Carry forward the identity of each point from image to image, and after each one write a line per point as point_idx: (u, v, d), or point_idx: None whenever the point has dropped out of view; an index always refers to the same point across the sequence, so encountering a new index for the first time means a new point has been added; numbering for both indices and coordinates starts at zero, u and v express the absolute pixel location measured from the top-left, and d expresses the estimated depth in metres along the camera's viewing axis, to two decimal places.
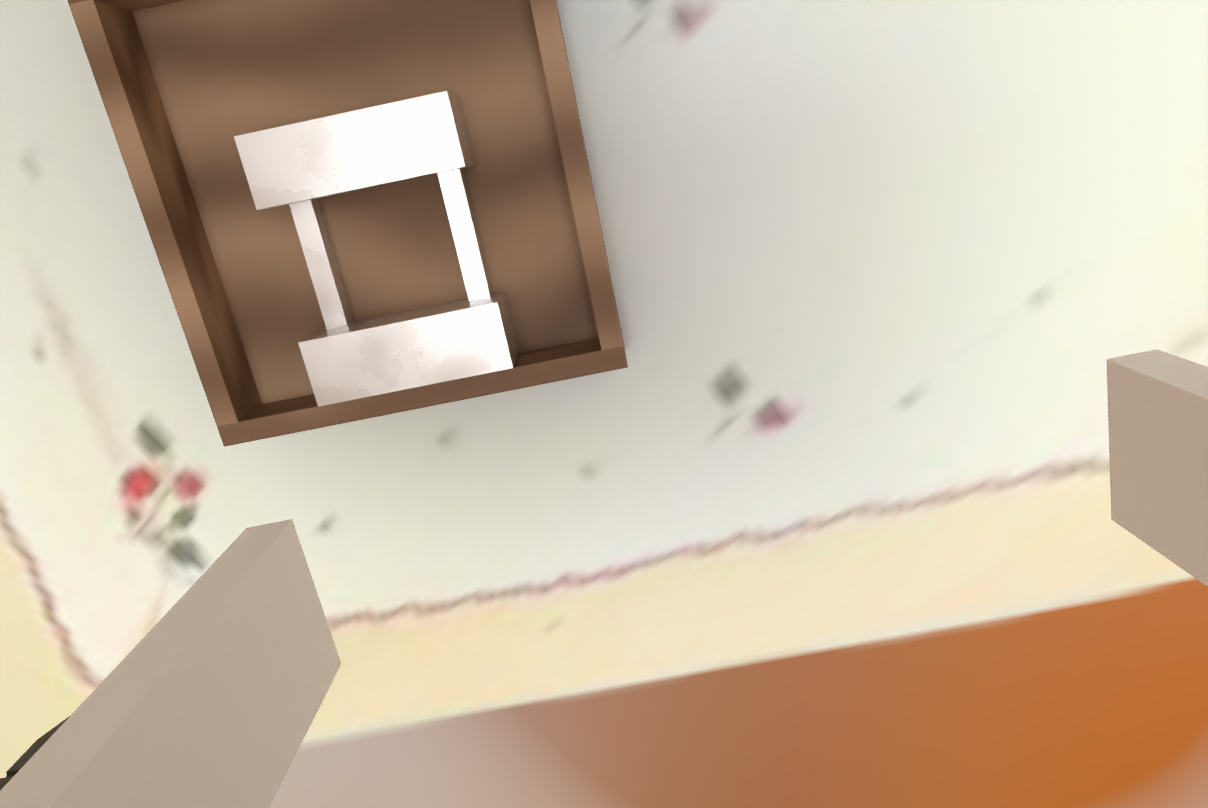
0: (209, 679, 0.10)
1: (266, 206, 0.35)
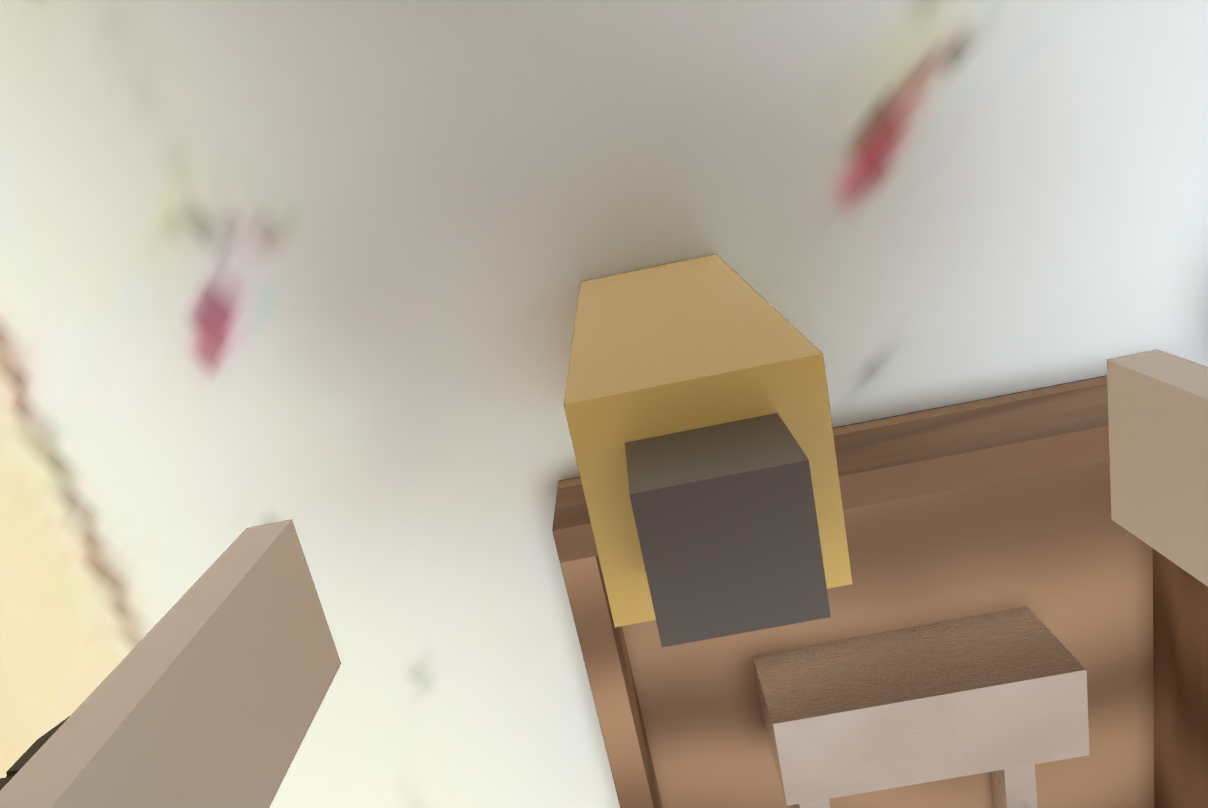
0: (209, 678, 0.10)
1: (801, 802, 0.25)
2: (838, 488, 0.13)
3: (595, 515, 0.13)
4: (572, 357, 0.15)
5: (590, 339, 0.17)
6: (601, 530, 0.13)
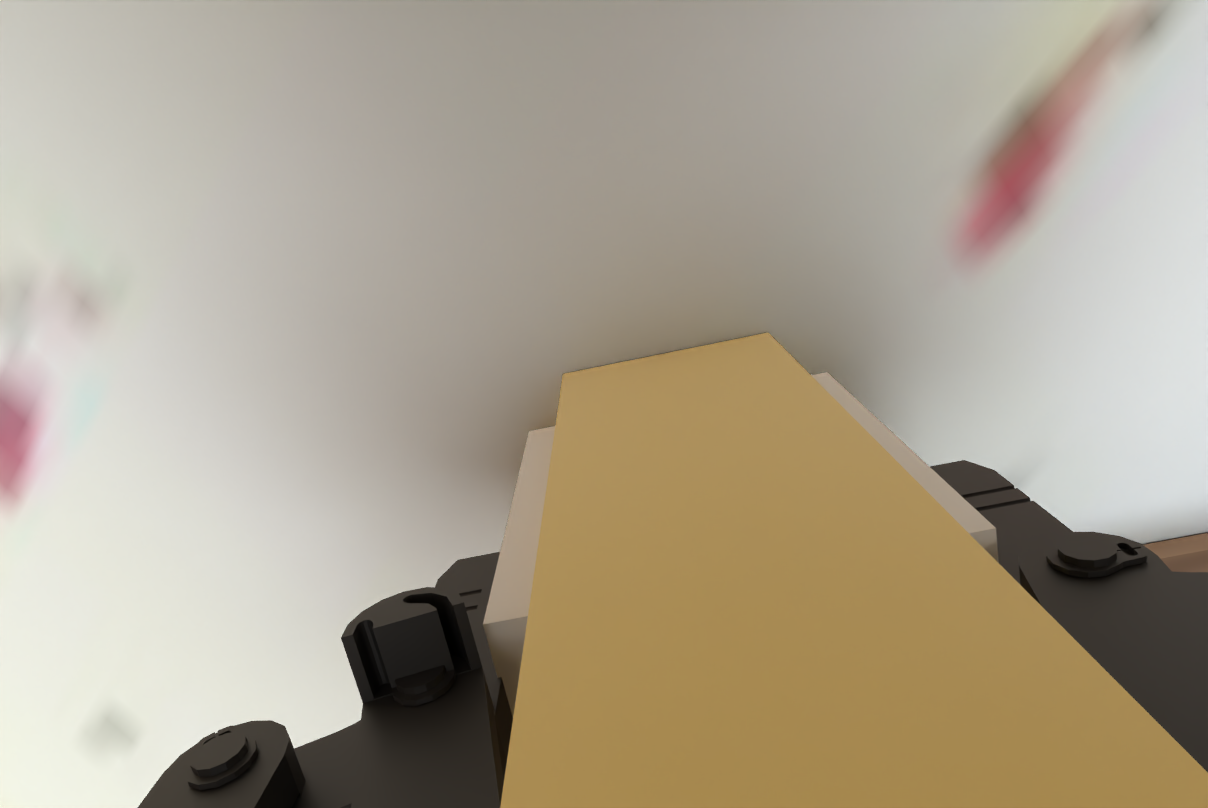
0: None
1: None
2: None
3: None
4: (529, 635, 0.07)
5: (570, 562, 0.08)
6: None
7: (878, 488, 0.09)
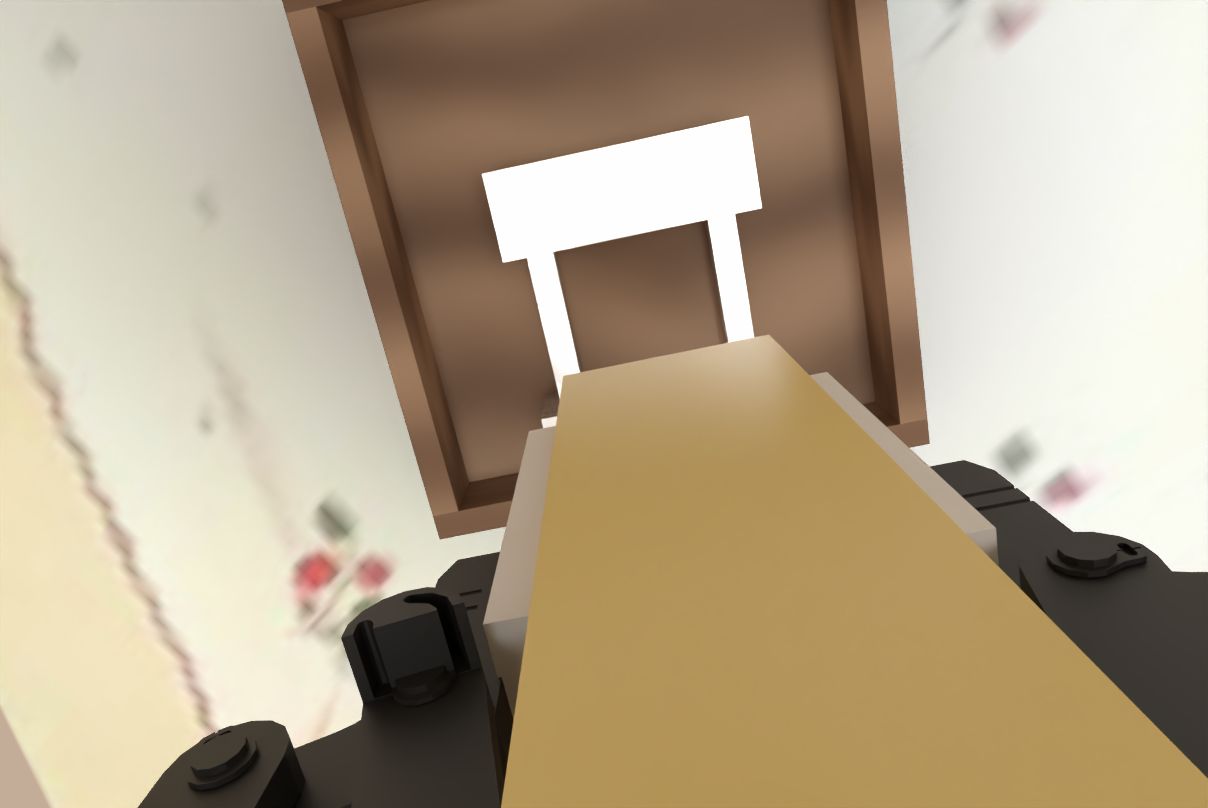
0: None
1: (515, 258, 0.28)
2: None
3: None
4: (529, 640, 0.07)
5: (571, 566, 0.08)
6: None
7: (880, 492, 0.08)
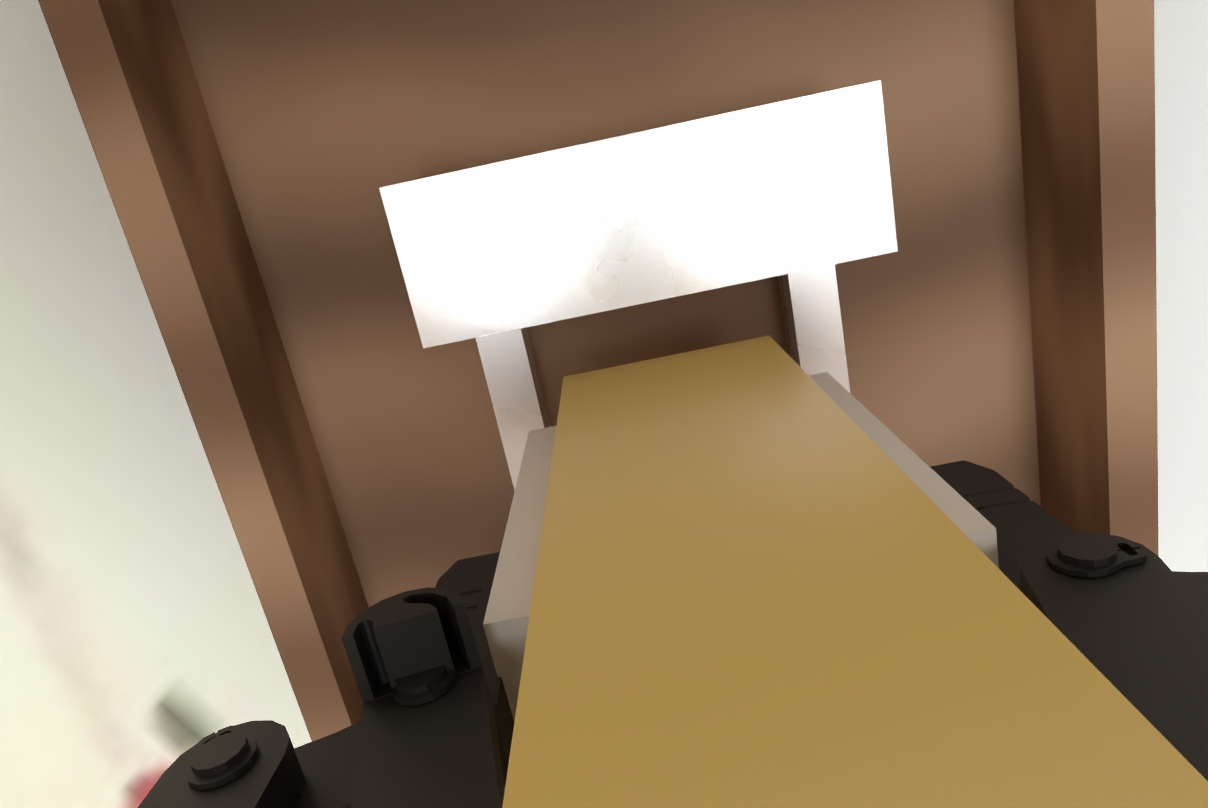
0: None
1: (445, 340, 0.16)
2: None
3: None
4: (530, 642, 0.07)
5: (571, 568, 0.08)
6: None
7: (880, 494, 0.08)
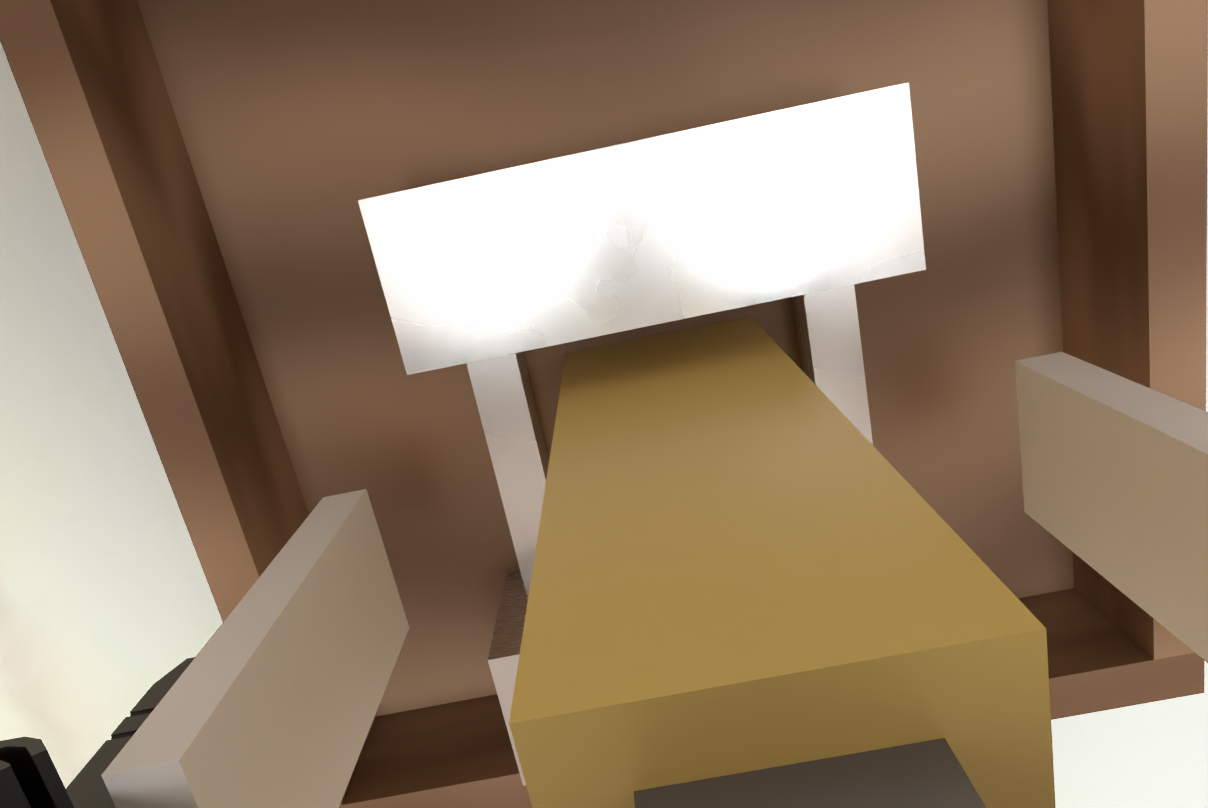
0: (310, 630, 0.11)
1: (431, 367, 0.14)
2: None
3: None
4: (540, 545, 0.09)
5: (573, 495, 0.10)
6: None
7: (827, 436, 0.10)
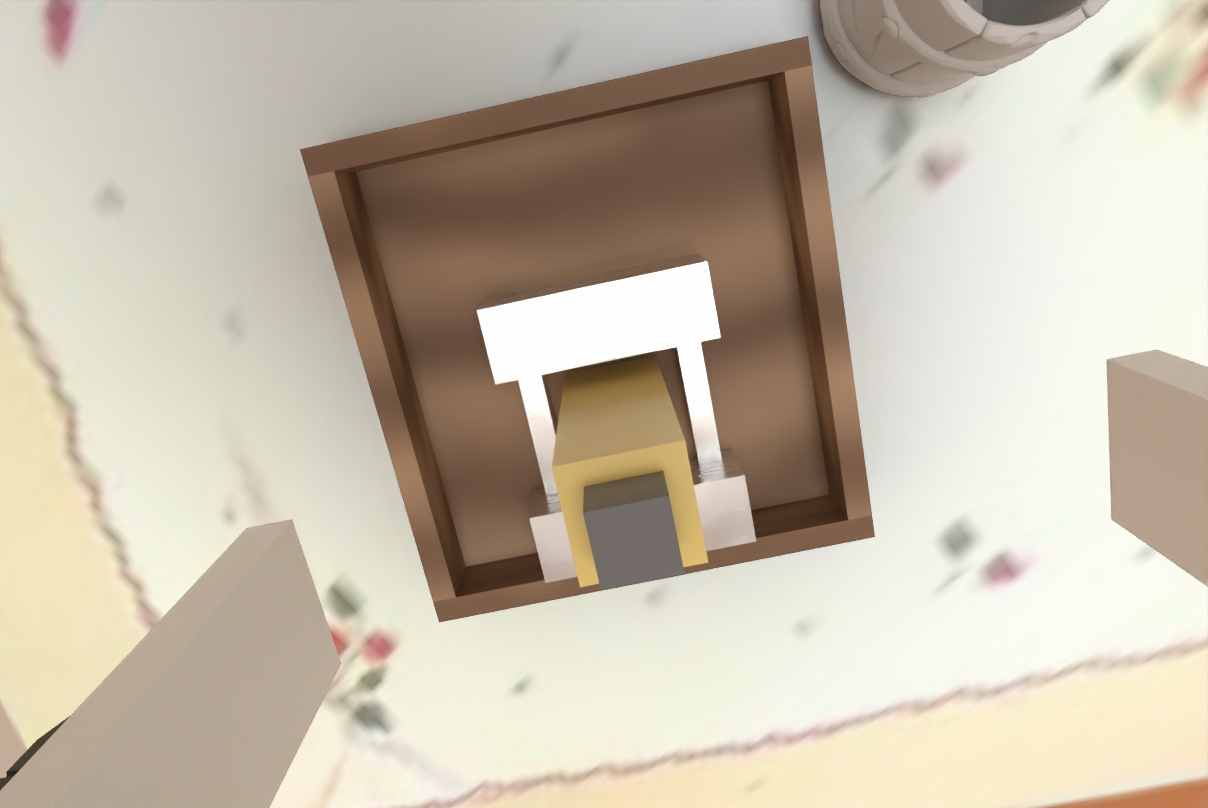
0: (209, 678, 0.10)
1: (506, 380, 0.32)
2: (697, 510, 0.25)
3: (568, 525, 0.25)
4: (557, 436, 0.27)
5: (568, 424, 0.28)
6: (572, 533, 0.25)
7: (660, 403, 0.28)
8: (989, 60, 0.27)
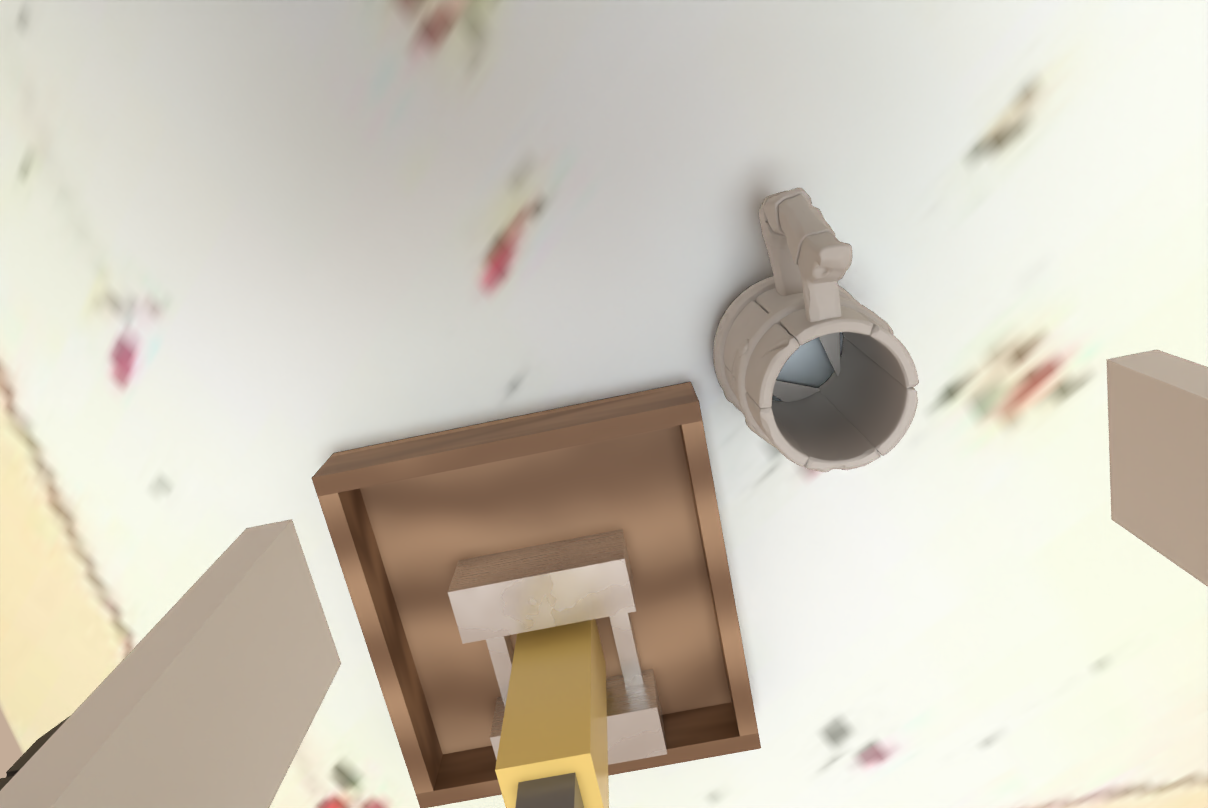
0: (209, 678, 0.10)
1: (470, 641, 0.42)
2: (600, 797, 0.34)
3: (508, 807, 0.34)
4: (503, 723, 0.37)
5: (513, 704, 0.38)
6: None
7: (582, 687, 0.38)
8: None
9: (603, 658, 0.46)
